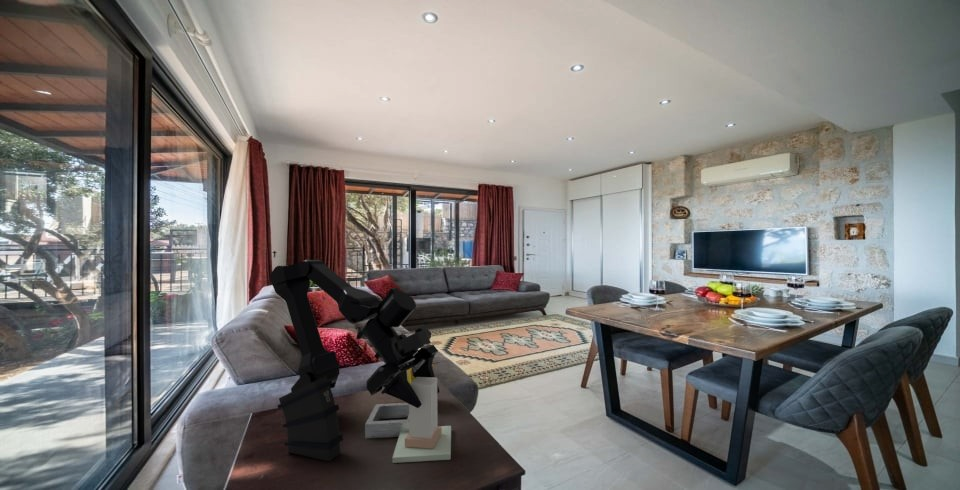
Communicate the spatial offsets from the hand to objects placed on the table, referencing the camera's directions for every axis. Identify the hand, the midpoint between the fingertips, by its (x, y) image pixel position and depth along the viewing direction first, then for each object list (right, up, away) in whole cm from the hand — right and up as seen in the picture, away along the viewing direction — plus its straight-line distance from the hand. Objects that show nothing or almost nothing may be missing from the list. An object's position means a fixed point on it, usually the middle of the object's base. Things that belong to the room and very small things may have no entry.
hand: (429, 399), depth 70 cm
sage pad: (-1, -10, 0) cm, 10 cm away
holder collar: (-10, -10, +9) cm, 16 cm away
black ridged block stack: (-24, -10, -1) cm, 26 cm away
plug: (-1, -9, 0) cm, 9 cm away
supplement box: (-5, -11, +20) cm, 23 cm away
